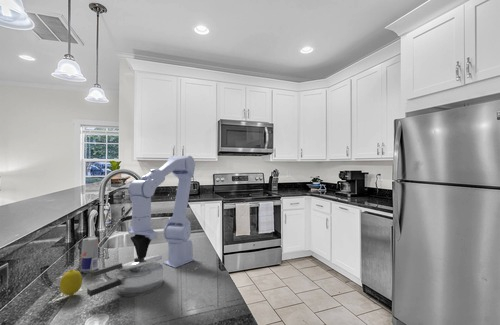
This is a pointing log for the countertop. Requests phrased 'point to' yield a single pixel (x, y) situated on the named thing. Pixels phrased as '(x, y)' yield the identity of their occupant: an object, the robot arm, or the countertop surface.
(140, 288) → the pot
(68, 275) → the lemon
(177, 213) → the robot arm
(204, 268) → the countertop surface
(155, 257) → the lid
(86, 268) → the energy drink
